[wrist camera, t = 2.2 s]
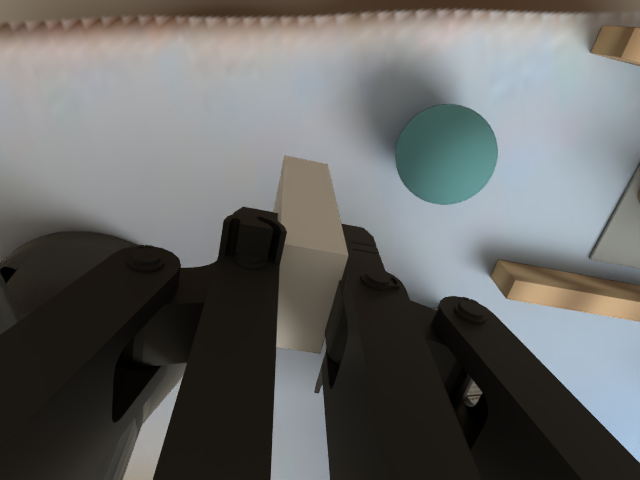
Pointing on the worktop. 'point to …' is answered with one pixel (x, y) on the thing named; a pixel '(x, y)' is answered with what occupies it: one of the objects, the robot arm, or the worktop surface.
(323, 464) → the worktop surface
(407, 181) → the ball
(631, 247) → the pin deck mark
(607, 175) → the worktop surface
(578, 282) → the lane
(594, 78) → the worktop surface
